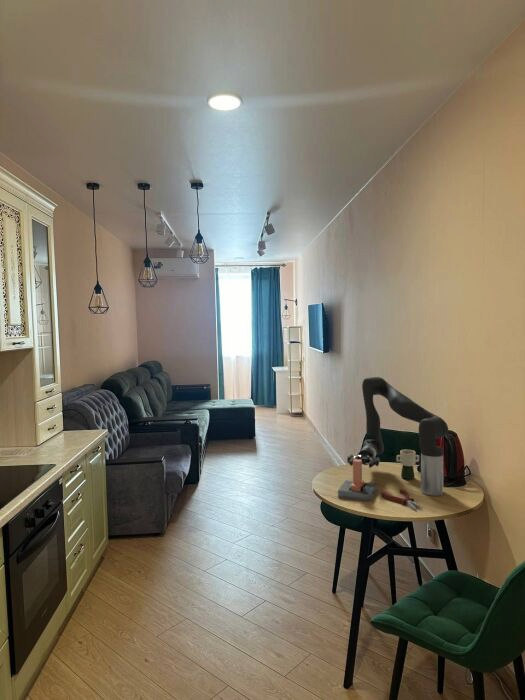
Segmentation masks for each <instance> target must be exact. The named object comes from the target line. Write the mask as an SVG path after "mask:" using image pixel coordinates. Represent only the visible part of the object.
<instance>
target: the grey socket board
mask: <svg viewBox="0 0 525 700" xmlns="http://www.w3.org/2000/svg"><path fill="white" fill-rule="evenodd" d="M352 483H353V480H348V479H345V481H344V482H343V483H341V484H342V485H340V487H339V489H338V490H337V497H338V498H341V497H344V498H343V499H348V498H349V500H355V499H357V500H356V501H362V500H363V501H364V502H369V501H371V502H372V500H373V498H374V496H375V494H376V492H377V483H370V482H364V487H363V486H361V492H357V491H351V484H352Z"/></svg>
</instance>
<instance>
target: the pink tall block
mask: <svg viewBox="0 0 525 700" xmlns="http://www.w3.org/2000/svg"><path fill="white" fill-rule="evenodd" d="M362 465H363V464H362V460H359V459H353V465H352V481H353V483H352V484H351V491H357V492H361V486H363V487H364V483H365V480H364V479H363V476H362V475H363V473H362V472H363V467H362Z"/></svg>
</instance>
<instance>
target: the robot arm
mask: <svg viewBox="0 0 525 700" xmlns="http://www.w3.org/2000/svg"><path fill="white" fill-rule="evenodd" d="M361 383H362V385H361V388H362V389H361V390H362V396H363V397H362V398H363V403H364V410H365V417H366V419H365V420H366V421H365V423H366V427H365V428H366V430H365V431H366V434H367V435H368V436H371V437H373V438H375V439H365V440H363V444H362V448H361V449H360V451H359V452H358V453H357V455H353V454H350V455H348V456H347V458H346V459H347V460H346V461H347V462H346V463H348V464H349V465H350V466H351V467H353V460H354V459H359V460H362V465H363V466H368V468H370V469H371V468H373V467H375V466H376V467H379V465H380V457H378V456H377V455H381V454H383V453H384V450H385V446H384V443H383V437H382V434H381V417H380V415H379V413H378V411H377V409H376V406H375V404H374V396H378V395H379V396H381V397H383V398H385V399H386V400H387V401H388V404H389V407H390V409H391V410H392V411H393V412H395V413H396V414H397V415H398V416H400V417H402V418H404V419H406V420H409V421H412V422H416V423H417V424H418V446H419V448H420V492H421V493H422V494H424V495H427V496H434V497H436V496H438V497H439V496H443V495H444V448H443V447H442V446H440V445H437V442H436V441H437V440H436V439H441V438H445V437H446V436H447V434H448V433H449V427H448V424H447V422H446V421H445V420H444V419H443V418H442V417H440V416H438V415H436V414H434V413H432V412H431V411H429V410H427V409H426V408H424V407H422V406H421V405H420V404H419V403H416V402H414V401H413V400H412V399H411V398H409V396H406V395H405V394H403V393H402V392H400V391H399V390H398V389H396V388H394V387H393V386H392V385H391V384H390V383H389V382H388V381H386V380H385V379H384V378H382V377H380V376H375V377H374V376H373V377H371V376H370V377H366V378H364V379H363V381H362V382H361ZM376 456H377V457H376Z"/></svg>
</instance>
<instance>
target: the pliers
mask: <svg viewBox="0 0 525 700" xmlns="http://www.w3.org/2000/svg"><path fill="white" fill-rule="evenodd" d="M399 493H400V494H401V495H402V496H404V497H405V498H404V497H399V496H397V495H392V494H389V493H387V492H385V491H382V492H381V493H380V495H381V498H384V499H385V500H387V501H389V502H390V501H391V502H394V503H398V504H401V505H402V506H407V507H409V508H411V509H413V510H414V511H418V510H424V508H423V507H422V506H420V505H419V504H418V503H416V502H415V499H414V498H413V497H411V495H410V494H409V492H408V491H406V490H404V489H403V488H402V489H401V488H400V489H399Z"/></svg>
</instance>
